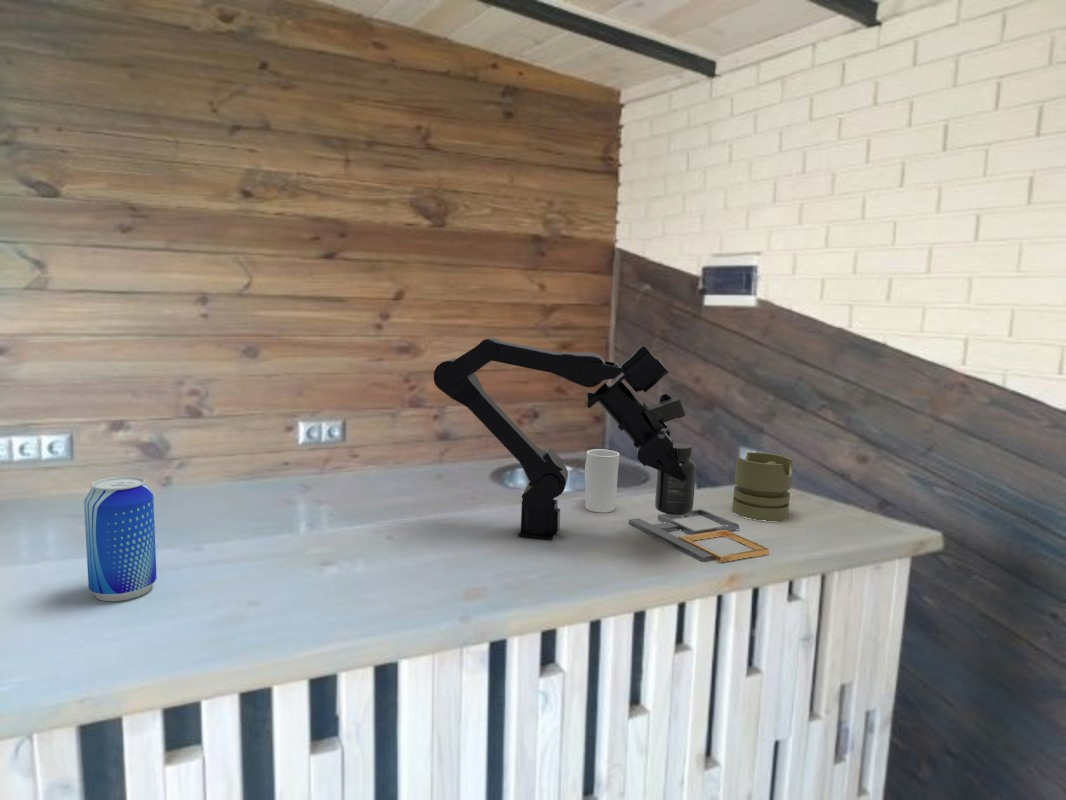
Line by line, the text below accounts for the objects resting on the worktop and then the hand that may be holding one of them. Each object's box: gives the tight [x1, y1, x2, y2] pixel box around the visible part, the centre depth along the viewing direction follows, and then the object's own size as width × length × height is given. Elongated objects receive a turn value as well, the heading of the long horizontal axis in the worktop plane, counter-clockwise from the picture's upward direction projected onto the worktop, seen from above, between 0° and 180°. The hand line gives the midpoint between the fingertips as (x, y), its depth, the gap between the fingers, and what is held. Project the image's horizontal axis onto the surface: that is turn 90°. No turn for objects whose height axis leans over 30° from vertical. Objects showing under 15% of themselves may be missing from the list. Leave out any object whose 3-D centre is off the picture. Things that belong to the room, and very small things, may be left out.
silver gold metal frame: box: [628, 508, 770, 564], centre depth 136 cm, size 18×24×1 cm
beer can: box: [83, 475, 158, 602], centre depth 101 cm, size 8×8×16 cm
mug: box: [584, 448, 620, 514], centre depth 152 cm, size 10×7×12 cm, turn 25°
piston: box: [731, 451, 794, 522], centre depth 151 cm, size 11×12×11 cm
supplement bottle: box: [654, 442, 697, 515], centre depth 129 cm, size 7×7×12 cm
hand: (683, 474), depth 129 cm, fingers closed on supplement bottle, 6 cm apart
